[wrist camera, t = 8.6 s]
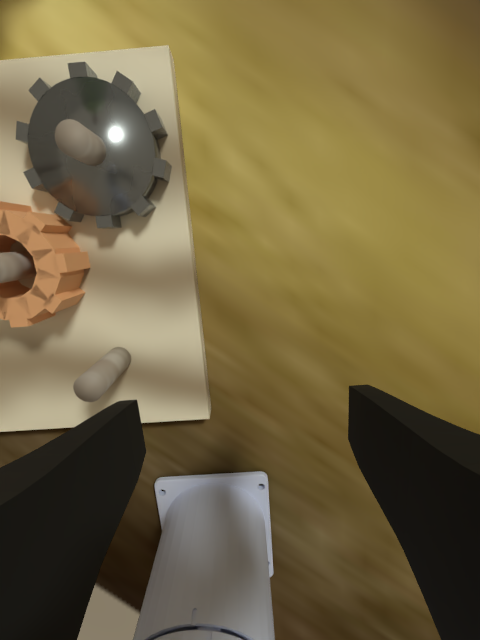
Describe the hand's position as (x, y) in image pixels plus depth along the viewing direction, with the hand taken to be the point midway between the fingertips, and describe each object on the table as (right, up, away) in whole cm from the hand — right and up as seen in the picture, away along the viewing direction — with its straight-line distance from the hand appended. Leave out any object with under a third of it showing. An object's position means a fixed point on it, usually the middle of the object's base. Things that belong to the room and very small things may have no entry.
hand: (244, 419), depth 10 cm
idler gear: (-12, +6, +7) cm, 15 cm away
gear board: (-12, +6, +8) cm, 16 cm away
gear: (-7, +12, +5) cm, 15 cm away
